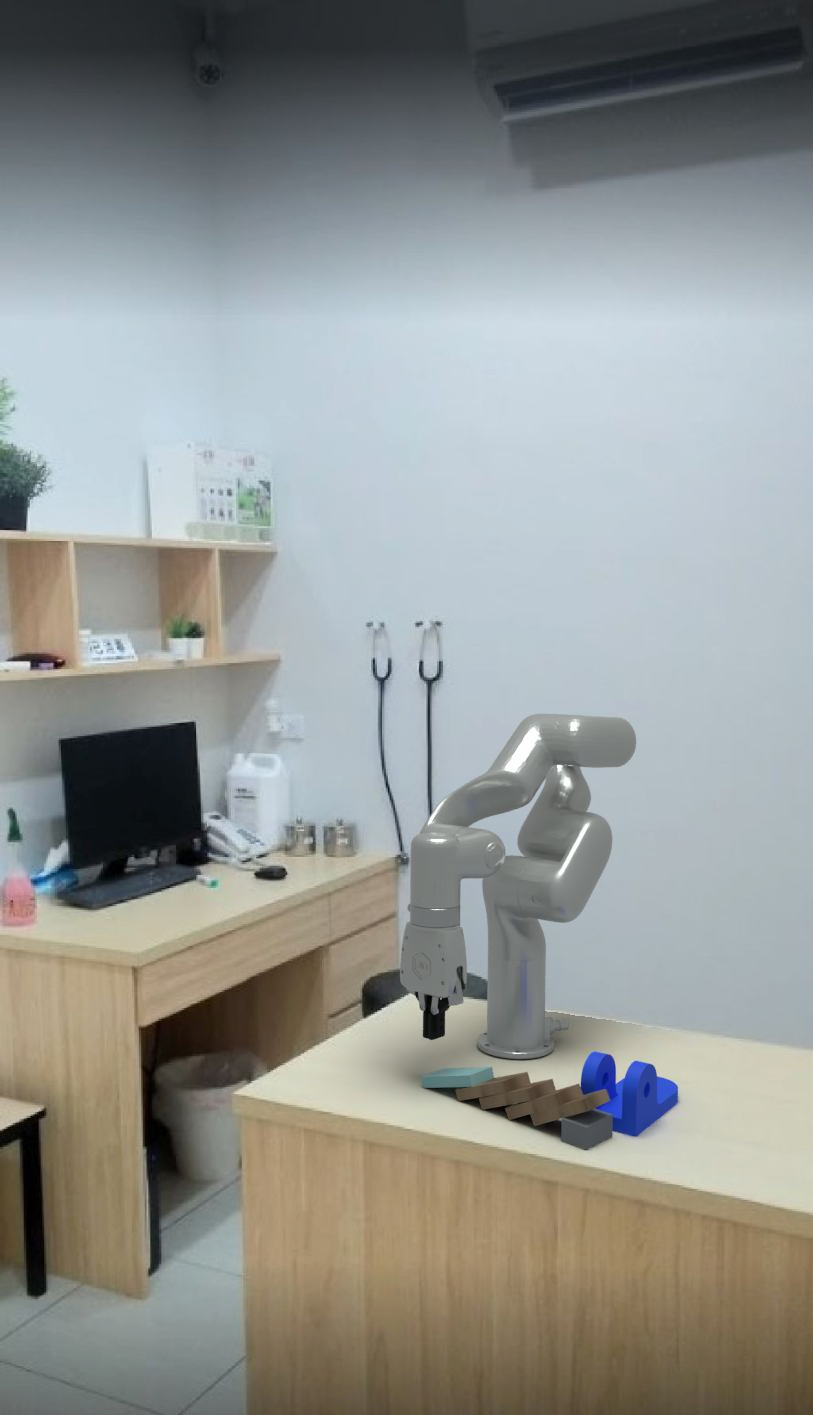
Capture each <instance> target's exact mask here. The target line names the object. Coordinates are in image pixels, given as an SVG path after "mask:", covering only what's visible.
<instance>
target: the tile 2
mask: <svg viewBox="0 0 813 1415" xmlns="http://www.w3.org/2000/svg"><path fill="white" fill-rule="evenodd" d="M530 1083H531V1079H530V1076H529V1072H528V1071H525V1072H524V1071H523V1072H520V1073H513V1074H508V1075H503V1076H497V1077H494V1078H492V1079H490V1080H487V1081H485V1082H482V1083H480V1084H477V1085H475V1086H472V1087H458V1088H456V1089H455V1094H456V1098H457V1102H461V1101H465V1100H472V1099H479V1098H481V1097H485V1096H491V1095H497V1094H502V1093H508V1092H511V1091H513V1090H516V1089H518V1088H520V1087H523V1086H525V1085H527V1084H530Z"/></svg>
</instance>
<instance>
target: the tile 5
mask: <svg viewBox="0 0 813 1415" xmlns="http://www.w3.org/2000/svg"><path fill="white" fill-rule="evenodd" d="M609 1101H611V1100H610V1098H609V1095H608V1092H607V1090H606V1089H603V1090H600V1091H596V1092H593V1093H589V1094H586V1095H583V1096H580V1097H578V1098H576V1099H574V1100H572V1101H569V1102H567V1103H565V1104H563V1105H560V1106H557V1107H553V1108H550V1109H546V1110H543V1111H539V1112H535V1113H532V1114H529V1115H530V1117H531V1121H532V1123H533V1126H534V1127H535V1126H539V1125H542V1124H547V1123H549V1122H552V1121H553V1122H554V1121H558V1120H560V1119H561V1120H562V1118H565V1117H568V1116H572V1115H576V1114H579V1113H583V1112H587V1111H590V1110H592V1109H594V1108H596V1107H598V1106H600V1105H602V1104H604V1103H606V1102H609Z"/></svg>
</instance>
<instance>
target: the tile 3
mask: <svg viewBox="0 0 813 1415" xmlns="http://www.w3.org/2000/svg"><path fill="white" fill-rule="evenodd" d="M556 1090H557V1089H556V1086H555V1082H554V1079H553V1078H550V1079H545V1080H540V1081H535V1082H530V1084H527V1085H525V1086H523V1087H520V1088H518V1089H516V1090H513V1091H511V1092H508V1093H502V1094H497V1095H491V1096H485V1097H479V1098H478V1100H479V1103H480V1107H481V1110H488V1109H494V1108H499V1107H503V1106H509V1105H510V1106H511V1105H514V1104H516V1103H521V1102H526V1101H531V1100H535V1099H537V1098H539V1097H542V1096H544V1095H546V1094H549V1093H551V1092H553V1091H556Z"/></svg>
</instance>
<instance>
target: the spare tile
mask: <svg viewBox="0 0 813 1415" xmlns="http://www.w3.org/2000/svg"><path fill="white" fill-rule="evenodd" d="M492 1078H495V1076H494V1070H493V1066H478V1067H477V1066H476V1067H475V1066H474V1067H455V1068H454V1067H453V1068H452V1067H451V1068H450V1067H449V1068H448V1067H447V1068H441V1069H438V1070H436V1071H434V1072H433V1071H432V1072H431V1073H428V1074H425V1075H422V1076H421V1077H420V1079H421V1086H422V1088H423V1089H427V1088H429V1089H430V1088H431V1089H432V1088H433V1089H435V1088H438V1089H439V1088H461V1087H472V1086H475V1085H477V1084H480V1083H482V1082H485V1081H487V1080H490V1079H492Z"/></svg>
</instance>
